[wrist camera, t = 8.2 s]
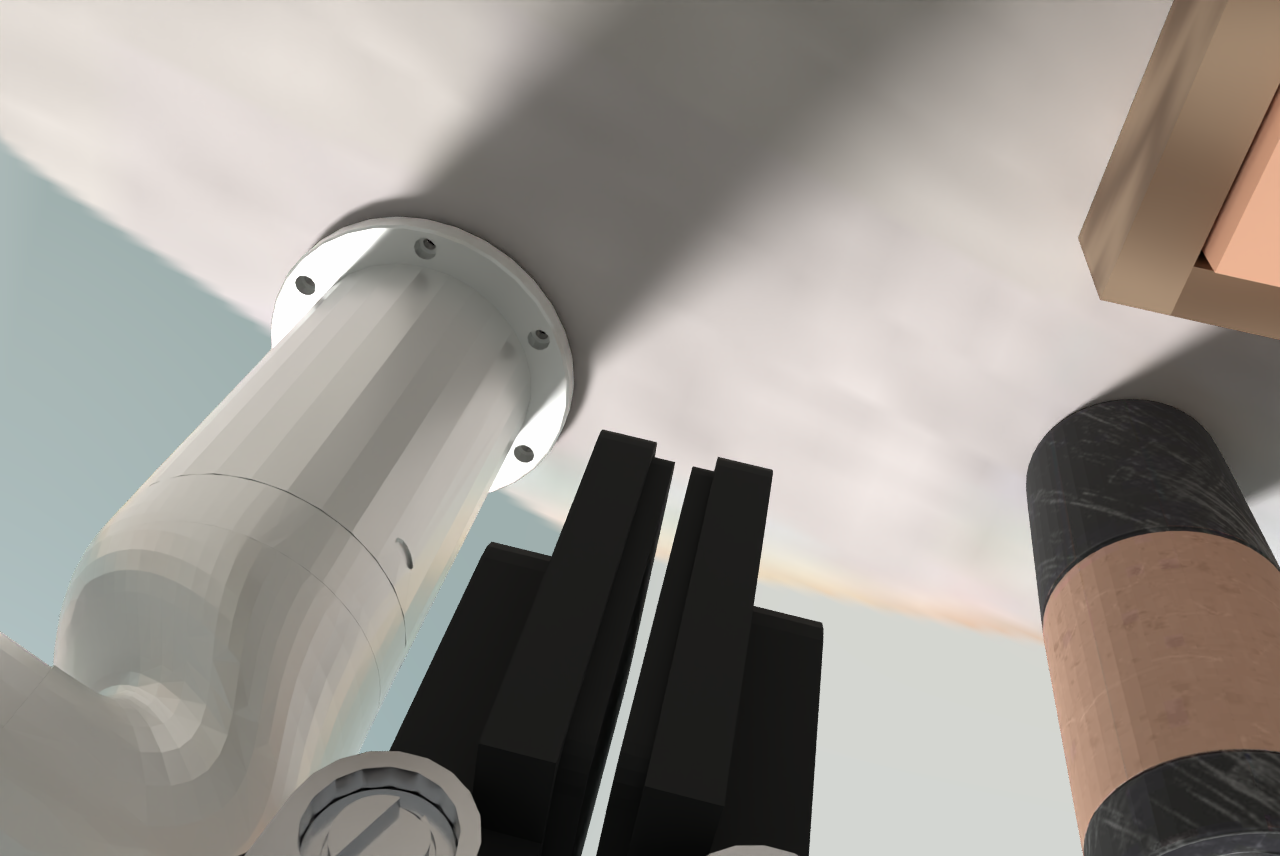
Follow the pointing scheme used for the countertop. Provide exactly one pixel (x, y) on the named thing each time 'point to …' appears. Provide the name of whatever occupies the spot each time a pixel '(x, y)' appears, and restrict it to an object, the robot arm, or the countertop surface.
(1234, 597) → the travel mug
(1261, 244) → the peach square block
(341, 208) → the countertop surface
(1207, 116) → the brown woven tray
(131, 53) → the countertop surface
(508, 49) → the countertop surface
